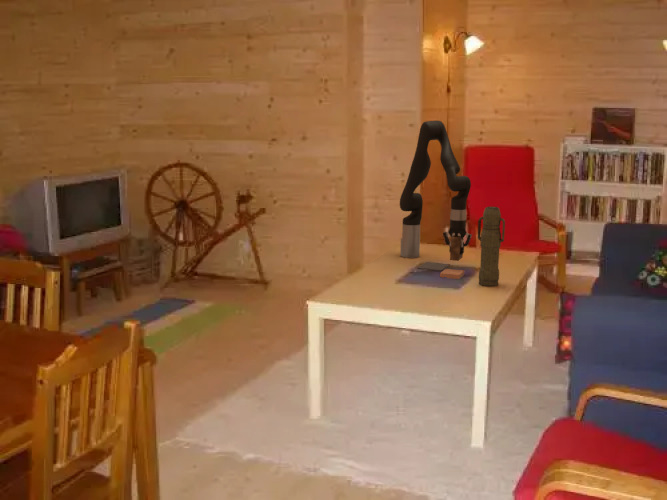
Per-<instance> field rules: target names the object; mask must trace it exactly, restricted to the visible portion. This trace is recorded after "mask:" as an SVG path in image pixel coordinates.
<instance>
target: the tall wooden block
mask: <svg viewBox="0 0 667 500" xmlns="http://www.w3.org/2000/svg"><path fill="white" fill-rule="evenodd" d="M460 238H461V237H458V236H452V237H451V236H450V241H451V247H450V246H449V250H450V252H449V253H450V254H449V261H457V262H459V261H460V260H461V259H463V257H464V256H463V254H464V253H463V254H462V255H460V247H461V245H460V244H461V243H460Z"/></svg>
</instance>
